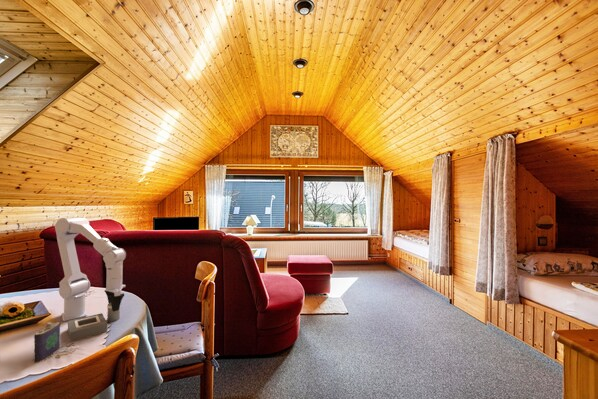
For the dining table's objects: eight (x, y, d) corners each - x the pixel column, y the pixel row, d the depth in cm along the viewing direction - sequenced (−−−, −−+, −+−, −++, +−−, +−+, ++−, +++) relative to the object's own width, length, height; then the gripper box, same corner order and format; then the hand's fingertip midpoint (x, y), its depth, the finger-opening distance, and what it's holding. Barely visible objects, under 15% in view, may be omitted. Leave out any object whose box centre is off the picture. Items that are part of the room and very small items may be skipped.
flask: (53, 346, 93) (54, 316, 93) (63, 346, 94) (63, 316, 94) (31, 363, 84) (32, 329, 84) (41, 362, 84) (42, 329, 84)
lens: (106, 319, 115) (106, 303, 115) (118, 316, 118) (118, 300, 118) (108, 322, 112) (108, 306, 112) (120, 319, 115) (121, 303, 115)
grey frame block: (67, 329, 105) (68, 320, 105) (101, 321, 113) (102, 312, 113) (70, 341, 97) (70, 331, 97) (106, 331, 104) (106, 322, 104)
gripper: (129, 278, 113) (128, 310, 113) (121, 271, 123) (121, 300, 123) (109, 282, 108) (108, 315, 108) (103, 274, 118) (102, 304, 118)
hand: (113, 307), depth 115 cm, fingers open, 7 cm apart
